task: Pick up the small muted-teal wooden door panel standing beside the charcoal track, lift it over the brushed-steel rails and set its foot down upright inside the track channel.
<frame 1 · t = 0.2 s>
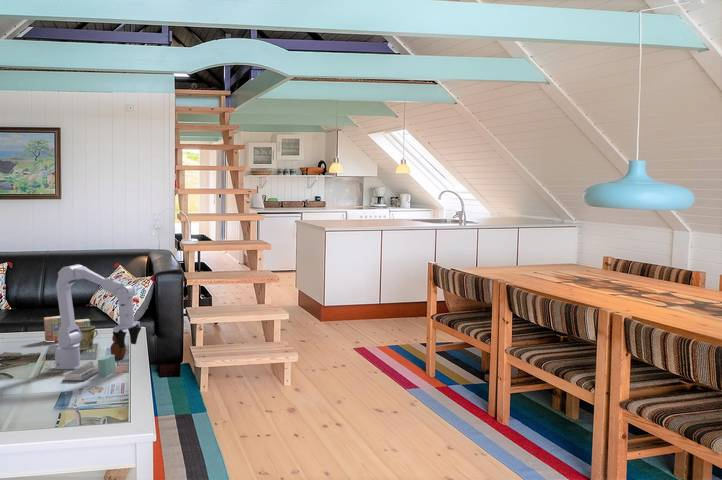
hand: (127, 345, 306), 10 cm above the table, fingers open, 7 cm apart
door panel: (107, 373, 299), on the table
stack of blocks: (68, 340, 369), on the table
wooden figurine: (118, 358, 326), on the table
ceramic cup: (87, 349, 347), on the table
track: (86, 374, 299), on the table
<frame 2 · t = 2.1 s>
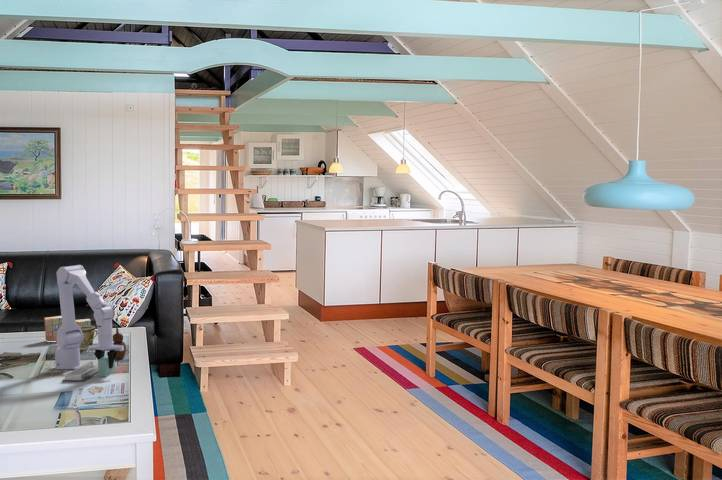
hand: (106, 368, 299), 2 cm above the table, fingers closed on door panel, 3 cm apart
door panel: (107, 373, 299), on the table, touching gripper
everything else where it was.
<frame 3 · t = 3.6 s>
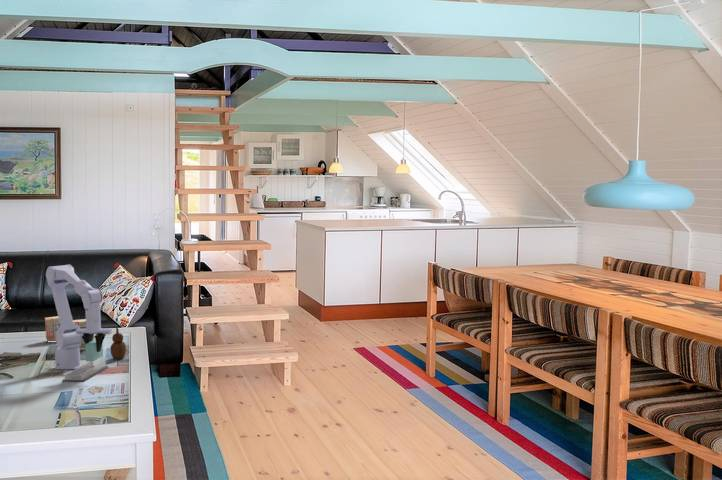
hand: (94, 351, 299), 9 cm above the table, fingers closed on door panel, 3 cm apart
door panel: (94, 358, 299), point 6 cm above the table, touching gripper
everything else where it was.
when the fingers open (4 cm above the table, at t = 5.4 s): door panel stays where it is, resting on track.
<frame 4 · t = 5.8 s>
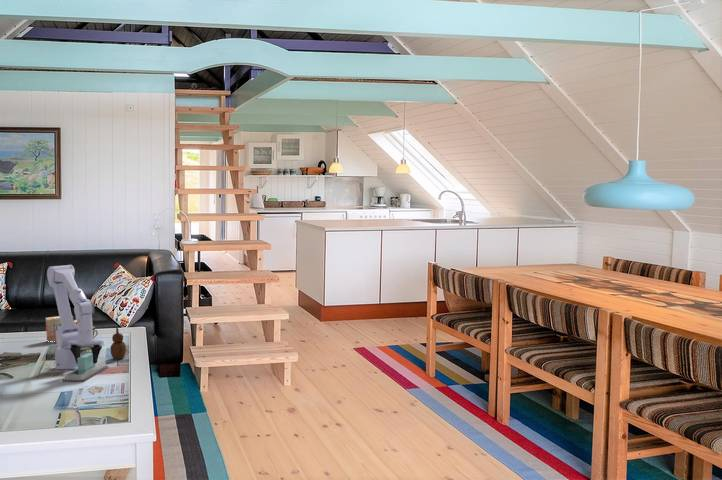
hand: (86, 363, 300), 4 cm above the table, fingers open, 7 cm apart
door panel: (86, 372, 300), point 1 cm above the table, touching track
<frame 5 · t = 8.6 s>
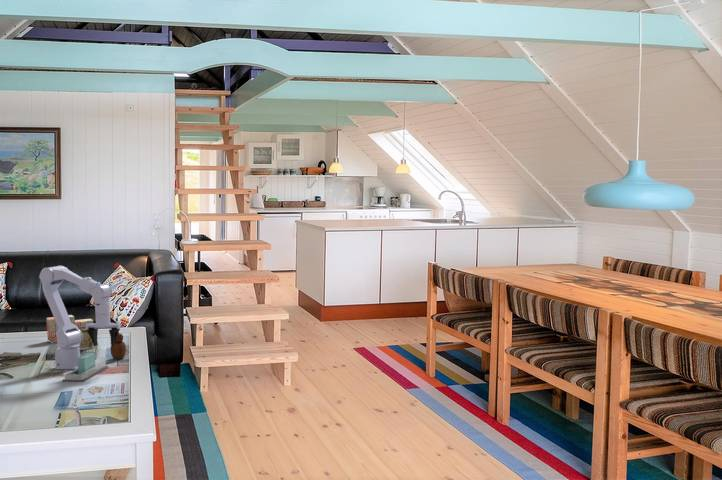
hand: (104, 345, 305), 10 cm above the table, fingers open, 7 cm apart
at the end: door panel inside the target area on the track (0.3 cm from its centre), point 0.6 cm above the track's base; door panel tilted 0°; the gripper is holding nothing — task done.
